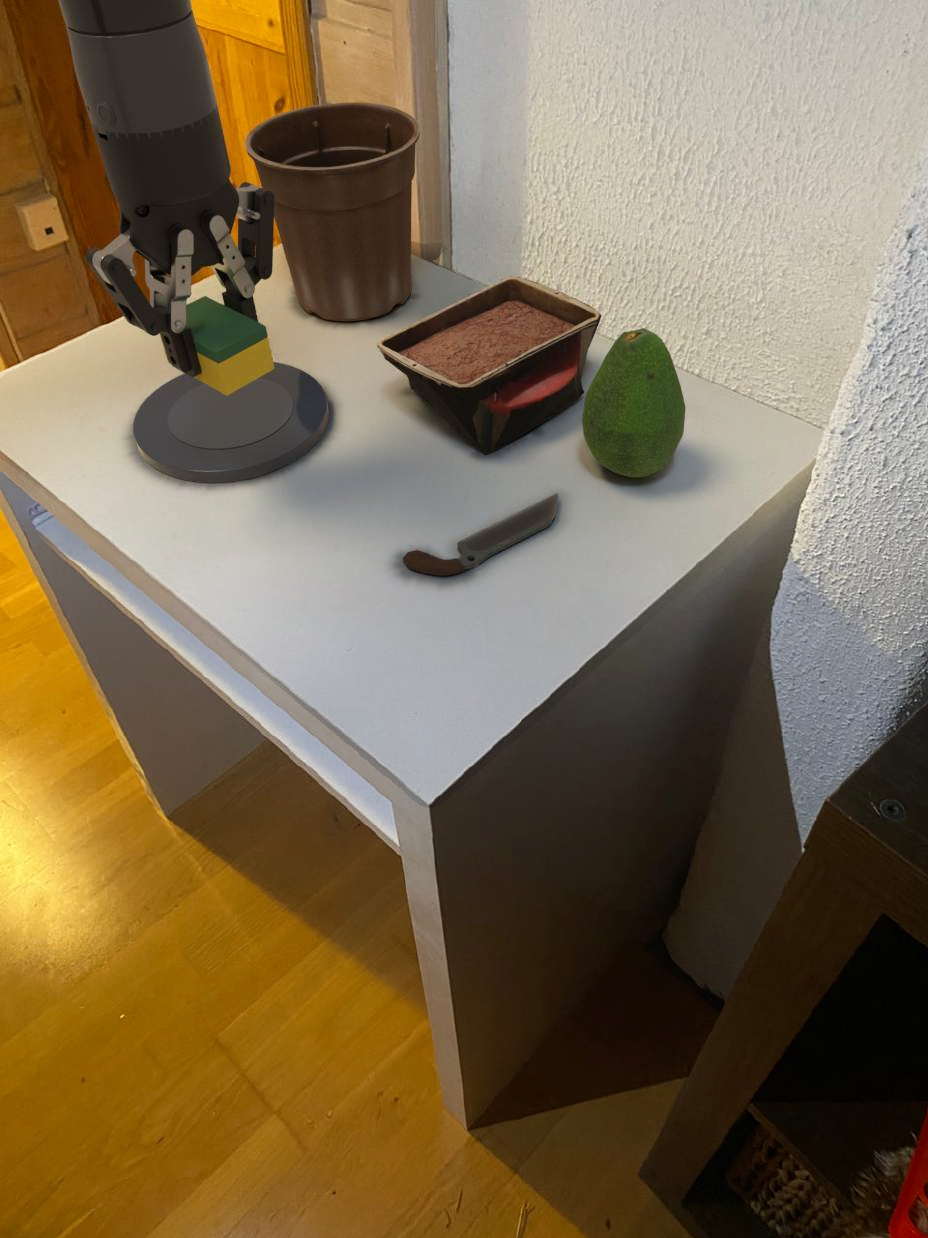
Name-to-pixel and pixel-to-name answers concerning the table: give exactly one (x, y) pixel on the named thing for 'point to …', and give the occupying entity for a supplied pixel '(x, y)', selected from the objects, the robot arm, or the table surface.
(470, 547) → the knife
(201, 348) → the sponge
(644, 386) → the avocado
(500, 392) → the baking dish
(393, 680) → the table surface
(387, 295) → the plant pot
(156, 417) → the plate
